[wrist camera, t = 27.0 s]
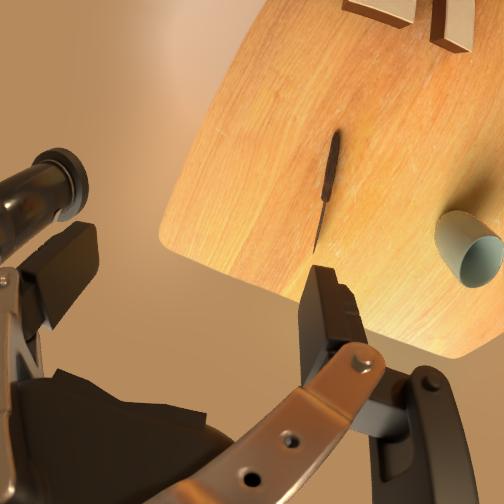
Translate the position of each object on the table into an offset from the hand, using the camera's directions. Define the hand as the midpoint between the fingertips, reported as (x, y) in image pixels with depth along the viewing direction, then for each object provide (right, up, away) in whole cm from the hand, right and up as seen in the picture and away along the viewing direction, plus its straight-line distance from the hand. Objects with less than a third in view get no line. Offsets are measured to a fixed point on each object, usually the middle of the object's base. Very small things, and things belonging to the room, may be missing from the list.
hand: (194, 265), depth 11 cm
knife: (+11, +8, +27) cm, 30 cm away
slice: (+27, +30, +13) cm, 42 cm away
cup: (+31, +4, +27) cm, 42 cm away
